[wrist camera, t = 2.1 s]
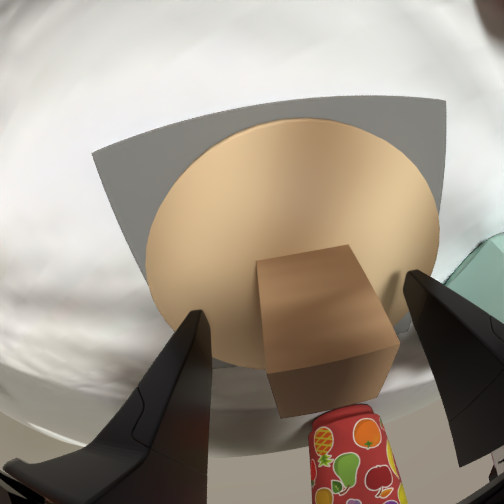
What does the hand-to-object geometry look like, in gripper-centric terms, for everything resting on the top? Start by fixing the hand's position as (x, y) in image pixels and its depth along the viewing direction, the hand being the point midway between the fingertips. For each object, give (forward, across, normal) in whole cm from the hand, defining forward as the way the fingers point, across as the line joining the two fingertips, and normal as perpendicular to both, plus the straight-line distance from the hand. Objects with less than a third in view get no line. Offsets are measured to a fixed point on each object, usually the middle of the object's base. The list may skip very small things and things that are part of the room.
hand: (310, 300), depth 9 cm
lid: (+2, 0, 0) cm, 2 cm away
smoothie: (+2, -3, +19) cm, 19 cm away
